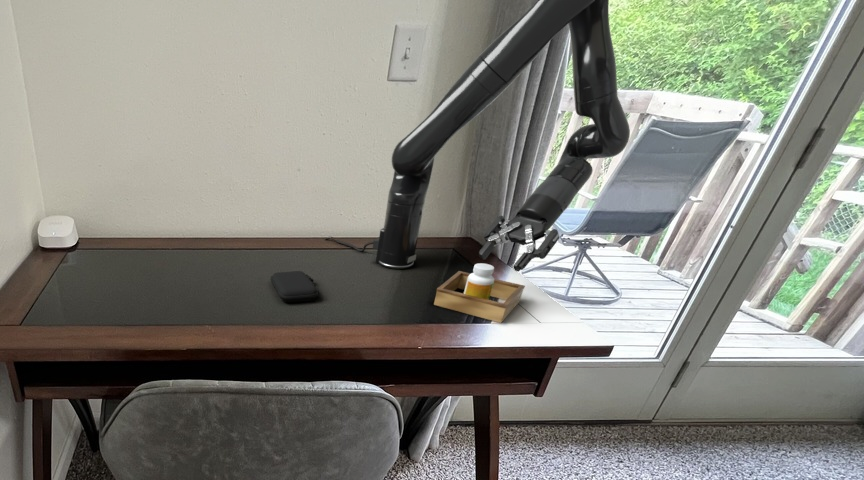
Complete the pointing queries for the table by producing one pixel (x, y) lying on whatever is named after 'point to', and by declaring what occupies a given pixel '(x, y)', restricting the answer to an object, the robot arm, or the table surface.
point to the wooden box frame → (479, 305)
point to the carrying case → (294, 286)
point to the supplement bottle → (480, 281)
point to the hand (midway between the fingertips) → (497, 263)
